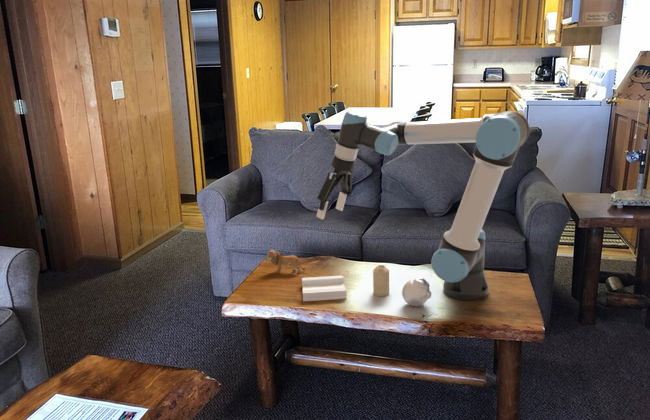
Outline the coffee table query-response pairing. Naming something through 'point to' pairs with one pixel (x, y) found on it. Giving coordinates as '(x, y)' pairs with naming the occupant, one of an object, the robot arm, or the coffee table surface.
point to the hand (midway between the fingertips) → (329, 213)
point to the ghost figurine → (416, 292)
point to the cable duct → (323, 288)
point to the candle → (381, 280)
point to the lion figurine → (283, 260)
